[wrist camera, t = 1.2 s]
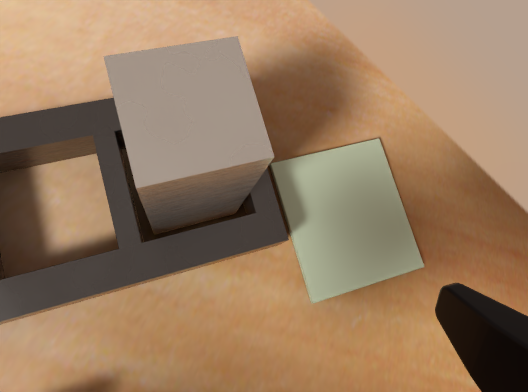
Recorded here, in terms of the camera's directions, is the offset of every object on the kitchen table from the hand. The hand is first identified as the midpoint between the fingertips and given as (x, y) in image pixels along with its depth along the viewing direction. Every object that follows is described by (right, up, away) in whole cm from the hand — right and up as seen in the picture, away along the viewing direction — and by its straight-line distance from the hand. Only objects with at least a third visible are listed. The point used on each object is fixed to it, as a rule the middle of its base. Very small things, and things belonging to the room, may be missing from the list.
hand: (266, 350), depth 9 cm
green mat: (+5, +2, +15) cm, 16 cm away
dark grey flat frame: (-7, +3, +13) cm, 15 cm away
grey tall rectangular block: (-4, +4, +14) cm, 15 cm away
